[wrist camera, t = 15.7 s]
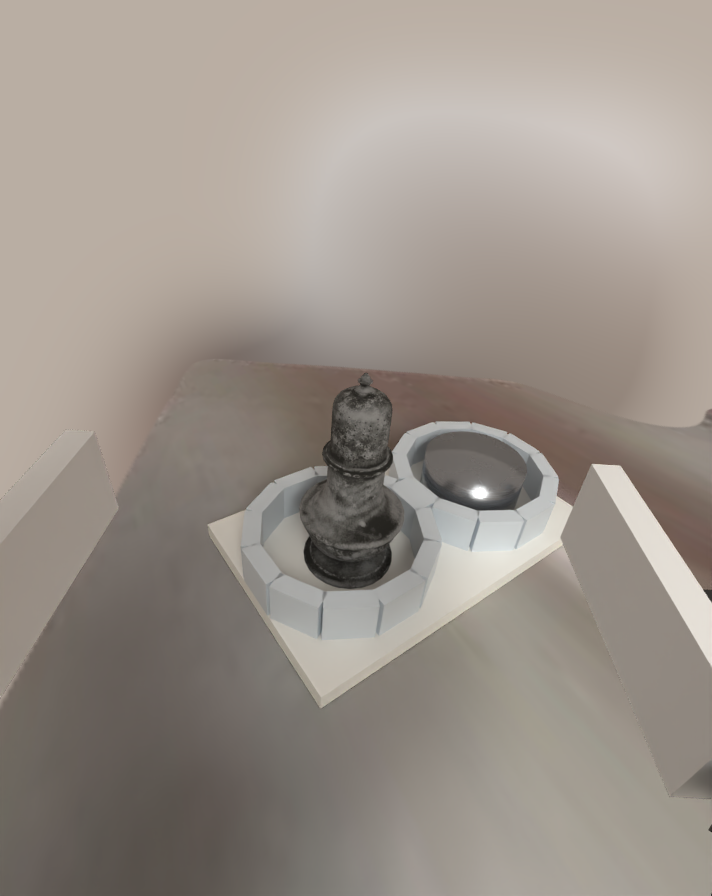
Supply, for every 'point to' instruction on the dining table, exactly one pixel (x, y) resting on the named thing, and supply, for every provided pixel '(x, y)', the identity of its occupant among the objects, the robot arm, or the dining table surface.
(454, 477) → the grey metallic domed disc
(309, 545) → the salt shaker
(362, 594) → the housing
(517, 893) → the dining table surface
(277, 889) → the dining table surface
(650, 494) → the dining table surface
